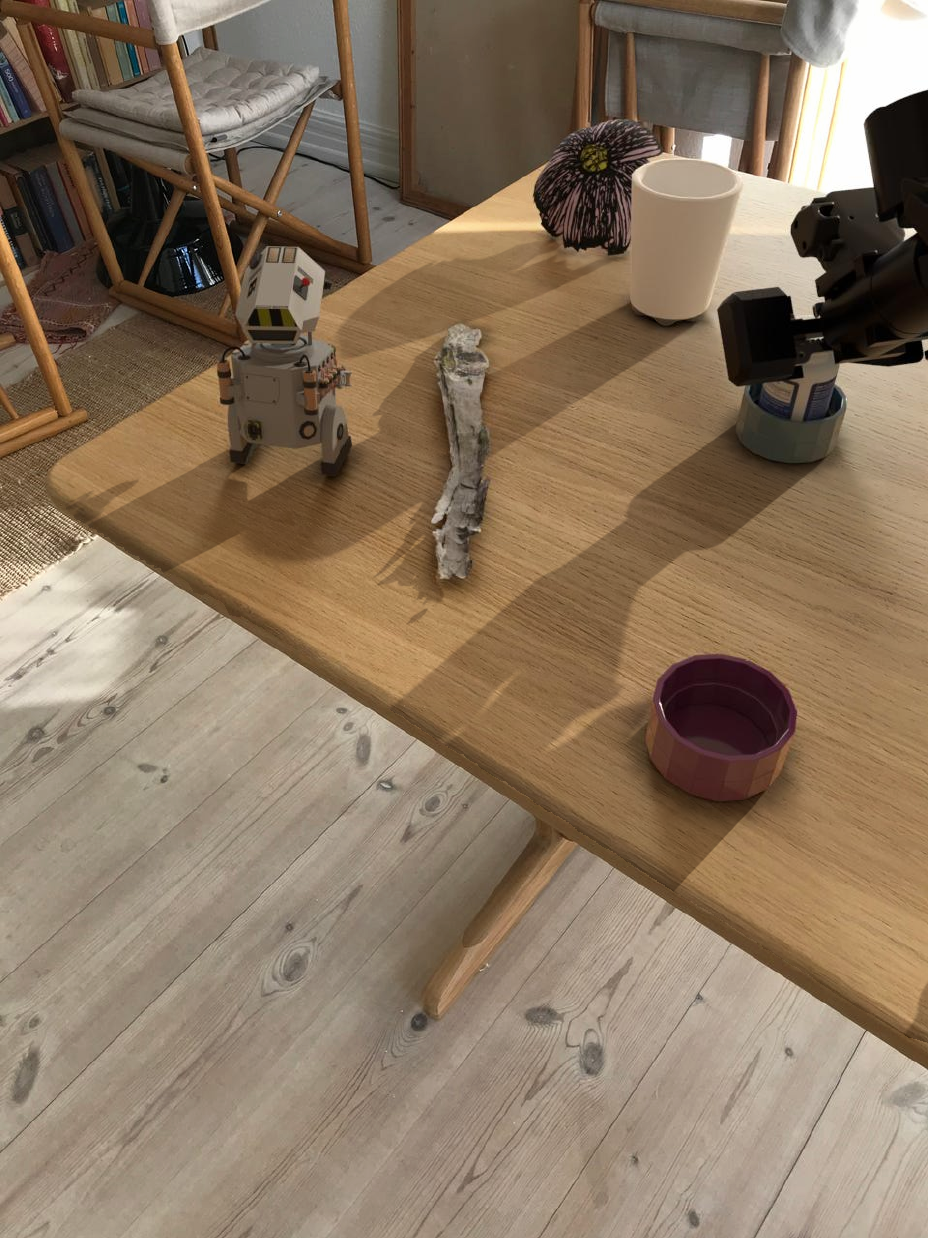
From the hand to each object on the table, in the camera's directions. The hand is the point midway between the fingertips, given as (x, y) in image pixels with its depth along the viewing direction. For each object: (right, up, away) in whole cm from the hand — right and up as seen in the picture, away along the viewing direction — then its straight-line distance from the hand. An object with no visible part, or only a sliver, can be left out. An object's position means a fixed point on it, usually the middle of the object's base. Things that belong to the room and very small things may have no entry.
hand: (794, 357), depth 80 cm
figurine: (-40, -6, +4) cm, 41 cm away
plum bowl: (-11, -28, -19) cm, 36 cm away
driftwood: (-27, -6, +4) cm, 27 cm away
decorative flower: (-12, +23, +33) cm, 42 cm away
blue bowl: (0, -6, +4) cm, 7 cm away
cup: (-6, +10, +20) cm, 23 cm away
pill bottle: (0, -6, +4) cm, 7 cm away
